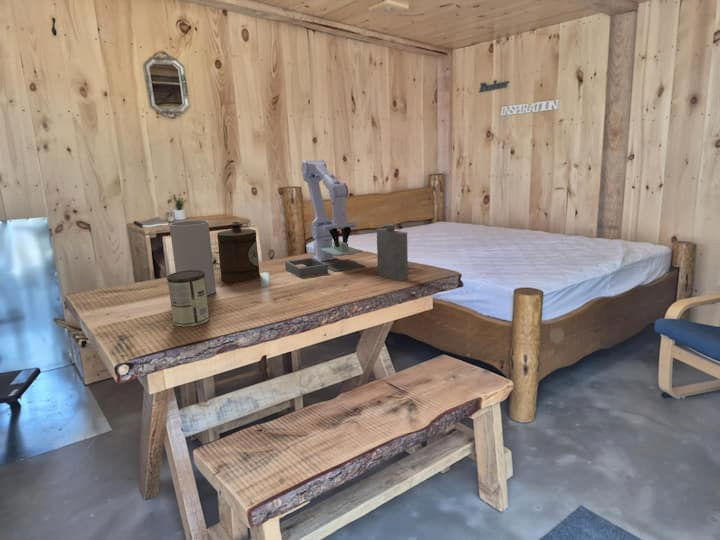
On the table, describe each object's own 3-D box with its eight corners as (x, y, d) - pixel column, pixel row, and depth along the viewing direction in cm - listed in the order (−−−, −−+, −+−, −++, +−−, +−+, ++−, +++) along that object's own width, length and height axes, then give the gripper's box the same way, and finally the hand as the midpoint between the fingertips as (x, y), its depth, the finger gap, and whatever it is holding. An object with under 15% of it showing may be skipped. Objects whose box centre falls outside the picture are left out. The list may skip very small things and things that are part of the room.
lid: (320, 251, 206) (319, 241, 205) (345, 248, 211) (344, 238, 210) (336, 257, 192) (335, 247, 191) (362, 253, 198) (362, 243, 197)
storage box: (285, 269, 200) (285, 261, 199) (312, 265, 205) (311, 257, 204) (300, 277, 186) (299, 268, 185) (328, 273, 192) (327, 264, 191)
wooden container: (263, 279, 186) (258, 222, 181) (223, 284, 181) (217, 226, 176) (256, 271, 200) (251, 218, 194) (219, 275, 194) (213, 221, 189)
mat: (318, 264, 207) (318, 263, 207) (348, 260, 213) (348, 259, 213) (335, 271, 193) (335, 270, 193) (365, 266, 199) (365, 266, 199)
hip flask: (409, 279, 177) (408, 225, 172) (401, 281, 175) (400, 227, 170) (382, 272, 190) (381, 221, 185) (374, 274, 187) (372, 222, 183)
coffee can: (179, 315, 146) (173, 270, 143) (213, 314, 147) (208, 269, 143) (167, 327, 136) (161, 279, 133) (204, 326, 137) (198, 278, 133)
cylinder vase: (222, 289, 174) (215, 220, 168) (203, 299, 162) (194, 225, 156) (192, 288, 177) (184, 220, 171) (171, 298, 166) (161, 225, 160)
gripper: (327, 216, 191) (329, 249, 194) (359, 212, 198) (360, 245, 201) (320, 214, 197) (322, 247, 200) (351, 211, 204) (353, 243, 207)
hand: (341, 246), depth 201 cm, fingers closed on lid, 3 cm apart
